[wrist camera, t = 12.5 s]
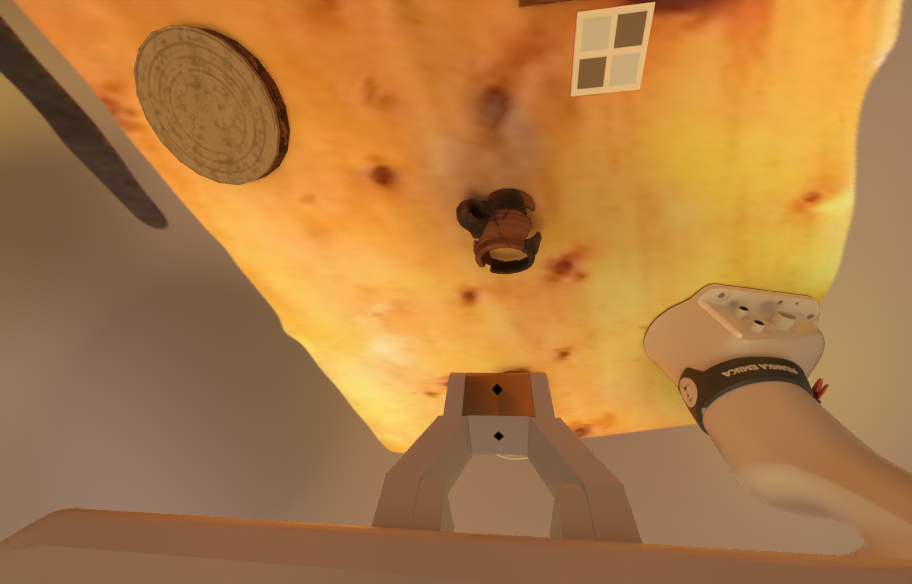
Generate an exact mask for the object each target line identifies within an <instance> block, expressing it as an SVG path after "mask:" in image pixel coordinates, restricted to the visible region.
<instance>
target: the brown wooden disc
mask: <svg viewBox="0 0 912 584" xmlns="http://www.w3.org/2000/svg"><path fill="white" fill-rule="evenodd" d="M134 75H135V83H136V91H137V96H138V99H139V101H140V104H141V106H142V109H143V112H144V114H145V117H146V119H147V121H148V122H149V124H150V126H151V127H152V129H153V130H154V132H155V133H156V135H157V136H158V138H159V139H160V141H161V142H162V143H163V144H164V145H165V147H166V148H167V149H168V150H169V151H170V152H171V153H172V154H173V155H174V156H175V157H176V158H177V159H178V160H179V161H180V162H182V163H183V164H184V165H186V166H187V167H189V168H190V169H192V170H193V171H195V172H196V173H197V174H199V175H201V176H203V177H206V178H208V179H211V180H213V181H216V182H218V183H225V184H234V185H240V184H244V183H248V182H252V181H256V180H258V179H260V178H263V177H265V176H267V175H269V174H270V173H271V172H272V171H274V170H275V169H276V168H277V167H279V166H280V164H281V162H282V160H283V158H284V156H285V154H286V152H287V150H288V142H289V134H290V128H289V122H288V116H287V111H286V106H285V104H284V102H283V99H282V97H281V95H280V93H279V90H278V88H277V86H276V84H275V82H274V80H273V79H272V78H271V76H270V75H269V74H268V72H267V71H266V70H265V68H264V67H263V66H262V64H261V63H260V62H259V60H258V59H257V58H256V57H254V56H253V55H252V54H251V53H250V52H248V51H247V50H246V49H245V48H244V47H243V46H241V45H240V44H239V43H238V42H237V41H234V40H232V39H230V38H228V37H226V36H224V35H222V34H220V33H217V32H215V31H213V30H207V29H201V28H196V27H186V26H176V25H169V26H167V27H164V28H161V29H159V30H156V31H154V32H151V33H150V35H149V36H148V37H147V38H146V40H145V41H144V42H143V43H142V45H141V46H140V47H139V49H138V54H137V58H136V63H135V67H134Z"/></svg>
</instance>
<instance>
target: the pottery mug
mask: <svg viewBox="0 0 912 584" xmlns="http://www.w3.org/2000/svg"><path fill="white" fill-rule="evenodd" d="M525 207H527V208H528V209H530V210H531V211H534V210H535V206H534V203H533V200H532V198H531V197H530V196H529V195H527V194H526V193H523V192H520V191H518V190H512V189H503V190H499V191H496V192H493V193H491V194H490V195H489V198H488V200H487V202H486V201H478V200H474V199H469V200H465V201H463V202H461V203H460V205H459V206H458V207H457V220H458V222H459V223H460V225H461V226H462V227H463V228H465V229H466V230H468V231H469V232H471V235H472V237H473V238H479V242H477V241H474V246H473V247H474V253H475V255H476V257H475V260H476V262H477V264H478V265H479V266H480V267H485V264H488V265H490V266H491V269H490V271H491V272H492V273H497V274H512V273H518V272H521V271H524V270H526V269H528V268H530V267H531V266H532V265H533V263H534V259H535V255H536V254H537V252H538V248H539V243H540V241H541V234H540V232H537V233H536V234H535V236H533V237H532V238H530V239H526V237H527V236H528V233H529V232H530V230H531V228H532V223H531V220H530V219H529V218H528V217H527V216H526V215H527V212H526V209H525ZM491 214H493V215H494V217H495V220H489V219H488V218H489V217H490V215H491ZM507 247H509V248H514V249H518V250H522V251H523V252H524V253H526V254H527V256H528V257H526V258H523V259H521V260H519V261H518V260H514V261H500V260H497V259H494V258H491V256H490V254H489V251H490V250H493V249H497V248H507Z"/></svg>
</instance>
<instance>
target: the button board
mask: <svg viewBox="0 0 912 584" xmlns="http://www.w3.org/2000/svg"><path fill="white" fill-rule="evenodd" d="M561 1H568V0H519V7H524V6H532V5H539V4H546V3H554V2H561Z"/></svg>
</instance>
